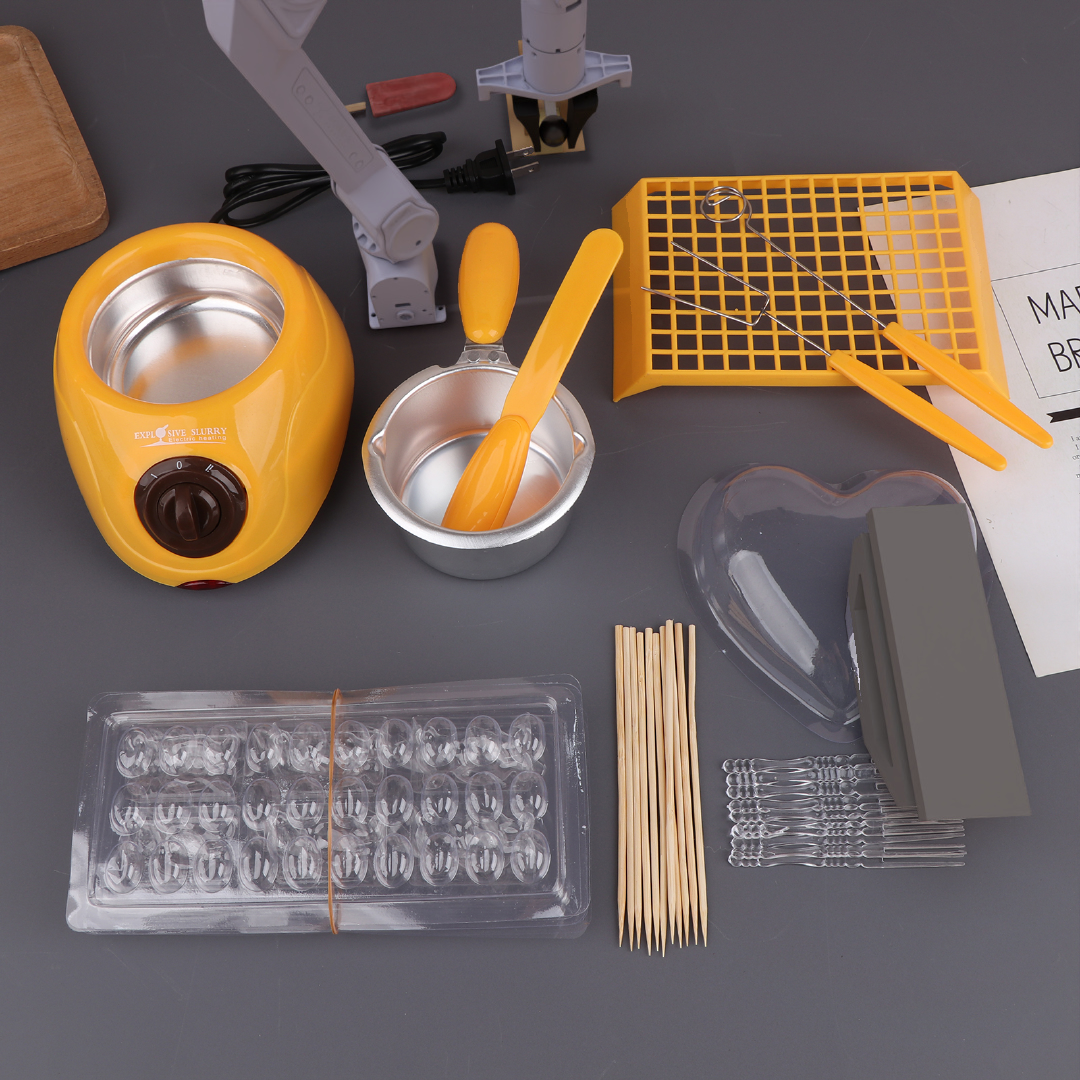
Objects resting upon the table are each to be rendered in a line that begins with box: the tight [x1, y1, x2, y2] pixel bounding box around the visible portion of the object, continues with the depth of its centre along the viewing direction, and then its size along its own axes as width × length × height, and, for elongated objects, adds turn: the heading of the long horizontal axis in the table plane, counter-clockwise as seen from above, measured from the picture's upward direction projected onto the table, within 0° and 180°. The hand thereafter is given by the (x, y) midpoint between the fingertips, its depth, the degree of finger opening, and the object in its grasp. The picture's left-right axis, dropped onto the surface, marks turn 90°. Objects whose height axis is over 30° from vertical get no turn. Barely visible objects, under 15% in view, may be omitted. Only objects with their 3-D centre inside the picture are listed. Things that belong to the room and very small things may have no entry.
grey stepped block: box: [846, 502, 1033, 822], centre depth 76 cm, size 25×8×11 cm, turn 3°
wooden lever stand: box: [505, 39, 586, 157], centre depth 97 cm, size 10×8×10 cm
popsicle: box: [344, 71, 457, 118], centre depth 102 cm, size 4×2×15 cm
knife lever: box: [539, 100, 568, 147], centre depth 92 cm, size 12×3×3 cm, turn 6°
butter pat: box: [535, 107, 563, 156], centre depth 98 cm, size 4×3×2 cm
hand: (554, 142), depth 92 cm, fingers closed on knife lever, 3 cm apart
